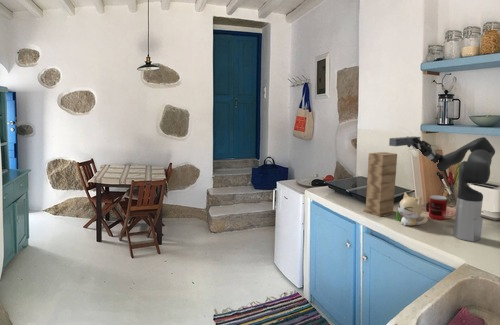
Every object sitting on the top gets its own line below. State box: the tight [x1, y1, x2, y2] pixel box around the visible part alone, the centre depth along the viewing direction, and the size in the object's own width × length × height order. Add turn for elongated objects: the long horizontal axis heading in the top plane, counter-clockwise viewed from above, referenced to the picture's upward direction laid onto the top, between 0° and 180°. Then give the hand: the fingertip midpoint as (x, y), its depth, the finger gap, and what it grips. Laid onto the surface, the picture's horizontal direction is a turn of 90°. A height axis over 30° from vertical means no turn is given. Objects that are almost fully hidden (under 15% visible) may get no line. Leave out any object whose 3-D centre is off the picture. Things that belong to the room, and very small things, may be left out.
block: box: [388, 136, 421, 147], centre depth 185 cm, size 4×21×4 cm, turn 120°
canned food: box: [428, 194, 448, 221], centre depth 173 cm, size 8×8×11 cm
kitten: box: [395, 192, 429, 227], centre depth 162 cm, size 15×10×15 cm
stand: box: [362, 151, 398, 218], centre depth 180 cm, size 11×12×32 cm
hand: (410, 138), depth 188 cm, fingers closed on block, 4 cm apart
